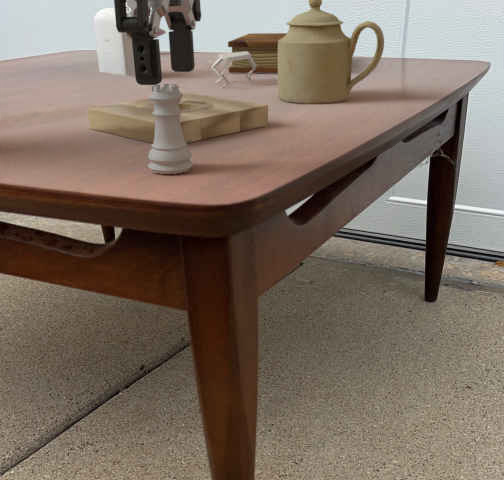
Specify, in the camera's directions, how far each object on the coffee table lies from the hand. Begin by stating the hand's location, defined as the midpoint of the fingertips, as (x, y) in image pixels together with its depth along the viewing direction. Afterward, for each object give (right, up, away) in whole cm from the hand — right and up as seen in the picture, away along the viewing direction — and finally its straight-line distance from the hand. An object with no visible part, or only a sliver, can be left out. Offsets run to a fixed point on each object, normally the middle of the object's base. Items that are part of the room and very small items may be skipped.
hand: (167, 77), depth 64 cm
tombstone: (-17, +21, +67) cm, 73 cm away
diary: (+15, +27, +78) cm, 84 cm away
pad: (-1, +1, +23) cm, 23 cm away
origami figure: (+5, +17, +56) cm, 59 cm away
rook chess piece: (0, -8, +4) cm, 9 cm away
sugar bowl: (+19, +10, +41) cm, 47 cm away
